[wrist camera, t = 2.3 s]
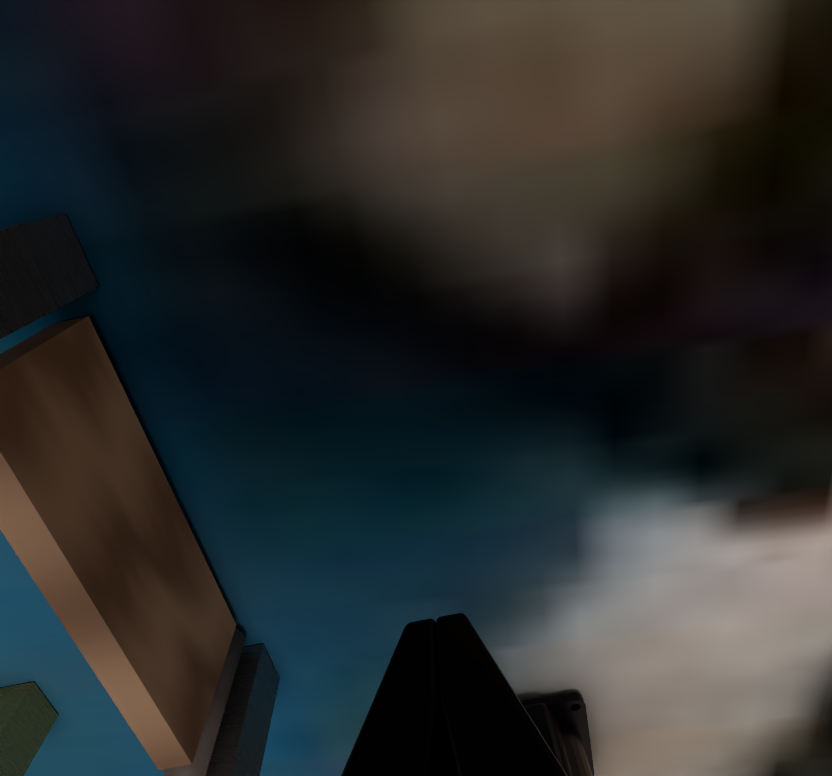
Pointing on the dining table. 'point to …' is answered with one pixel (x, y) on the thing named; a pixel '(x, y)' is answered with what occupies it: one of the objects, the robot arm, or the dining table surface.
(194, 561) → the brown wooden plank
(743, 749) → the dining table surface
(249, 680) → the frame
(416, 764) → the robot arm
